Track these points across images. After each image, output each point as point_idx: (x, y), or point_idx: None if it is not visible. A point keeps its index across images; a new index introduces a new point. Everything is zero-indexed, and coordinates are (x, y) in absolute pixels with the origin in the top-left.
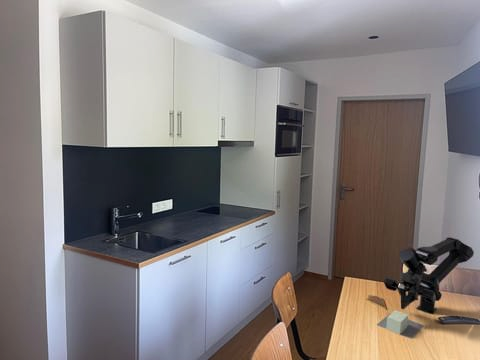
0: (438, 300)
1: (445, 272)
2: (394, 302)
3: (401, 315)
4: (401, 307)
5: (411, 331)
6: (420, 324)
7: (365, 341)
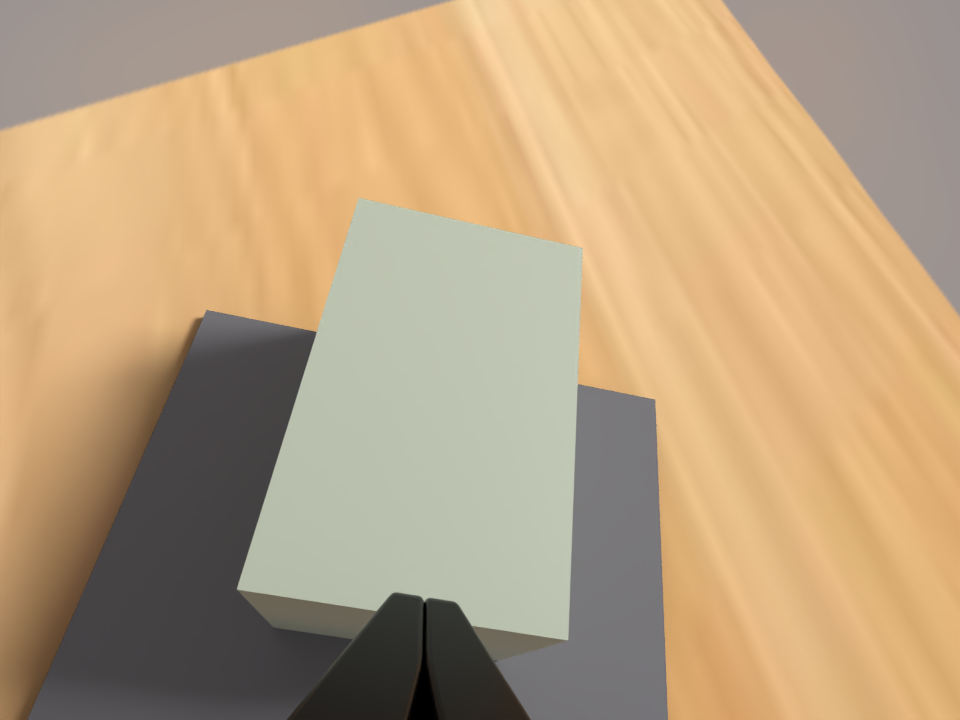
0: None
1: None
2: None
3: (386, 447)
4: (442, 604)
5: (202, 510)
6: None
7: (595, 102)
